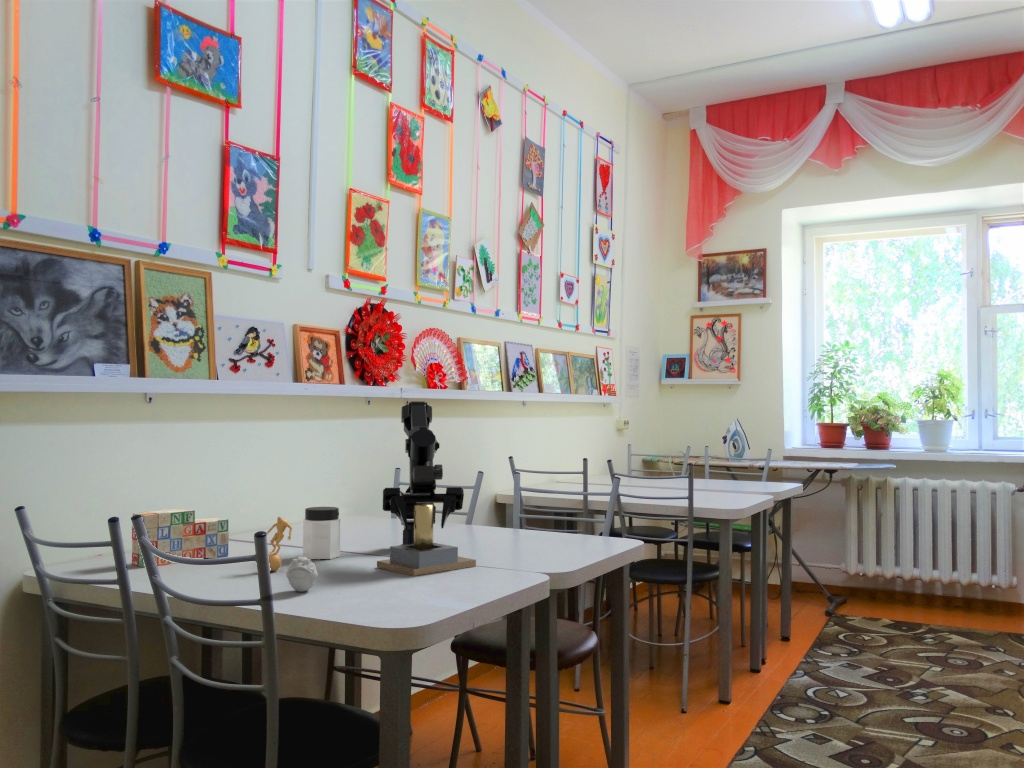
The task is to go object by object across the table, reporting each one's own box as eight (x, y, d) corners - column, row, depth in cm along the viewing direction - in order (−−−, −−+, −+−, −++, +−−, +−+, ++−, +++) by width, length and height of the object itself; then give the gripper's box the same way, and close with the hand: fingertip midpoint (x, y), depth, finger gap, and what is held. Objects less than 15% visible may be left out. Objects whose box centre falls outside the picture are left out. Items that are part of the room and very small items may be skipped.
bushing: (419, 558, 194) (419, 502, 194) (436, 560, 193) (436, 504, 193) (410, 563, 190) (410, 506, 190) (428, 564, 189) (428, 507, 188)
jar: (345, 557, 206) (345, 508, 206) (314, 561, 201) (315, 511, 201) (328, 553, 213) (328, 505, 213) (298, 556, 208) (298, 507, 208)
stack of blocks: (215, 554, 211) (216, 505, 212) (228, 556, 207) (229, 506, 208) (131, 565, 195) (132, 512, 196) (143, 568, 191) (145, 514, 191)
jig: (438, 558, 205) (438, 538, 205) (475, 566, 195) (476, 544, 195) (376, 567, 193) (377, 545, 193) (413, 576, 183) (413, 553, 183)
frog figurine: (282, 595, 163) (282, 559, 163) (290, 588, 170) (291, 553, 170) (313, 595, 163) (314, 559, 163) (320, 588, 170) (321, 553, 170)
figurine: (252, 570, 188) (253, 517, 189) (274, 566, 193) (275, 514, 194) (277, 574, 184) (278, 519, 184) (298, 570, 189) (299, 517, 189)
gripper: (383, 452, 195) (383, 505, 184) (463, 452, 198) (468, 504, 187) (382, 484, 202) (382, 536, 191) (459, 483, 205) (464, 535, 194)
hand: (424, 527), depth 190 cm, fingers open, 8 cm apart
